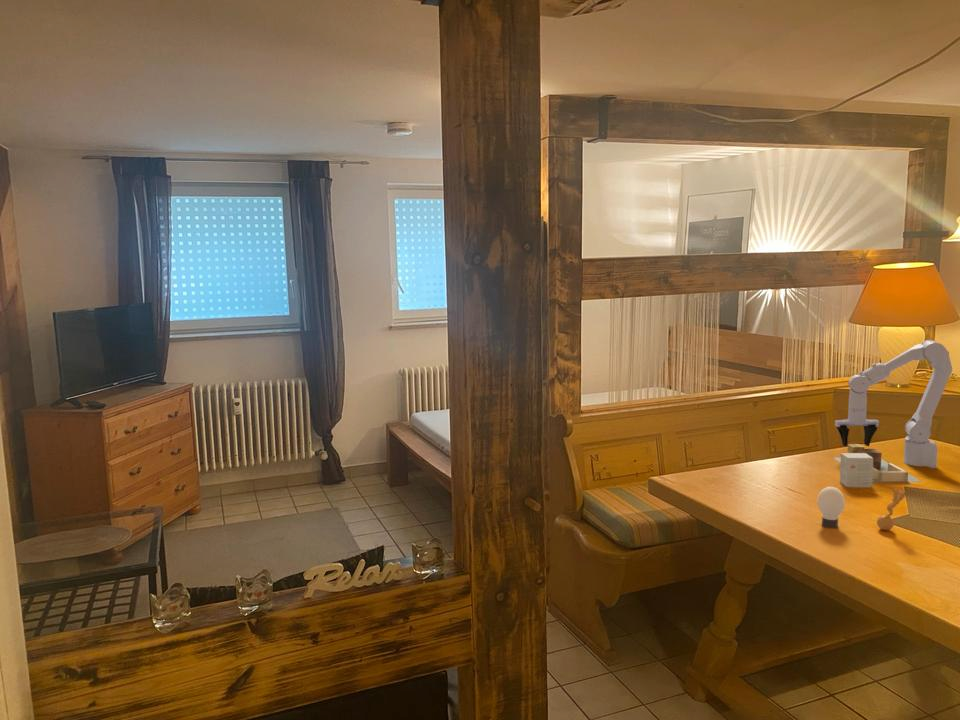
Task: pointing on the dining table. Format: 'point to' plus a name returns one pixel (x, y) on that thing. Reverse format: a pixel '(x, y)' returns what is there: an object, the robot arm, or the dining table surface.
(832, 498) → the light bulb
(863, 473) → the small box
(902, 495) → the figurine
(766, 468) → the dining table surface
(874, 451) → the walnut block with tether
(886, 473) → the shelf board with lane
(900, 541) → the dining table surface
